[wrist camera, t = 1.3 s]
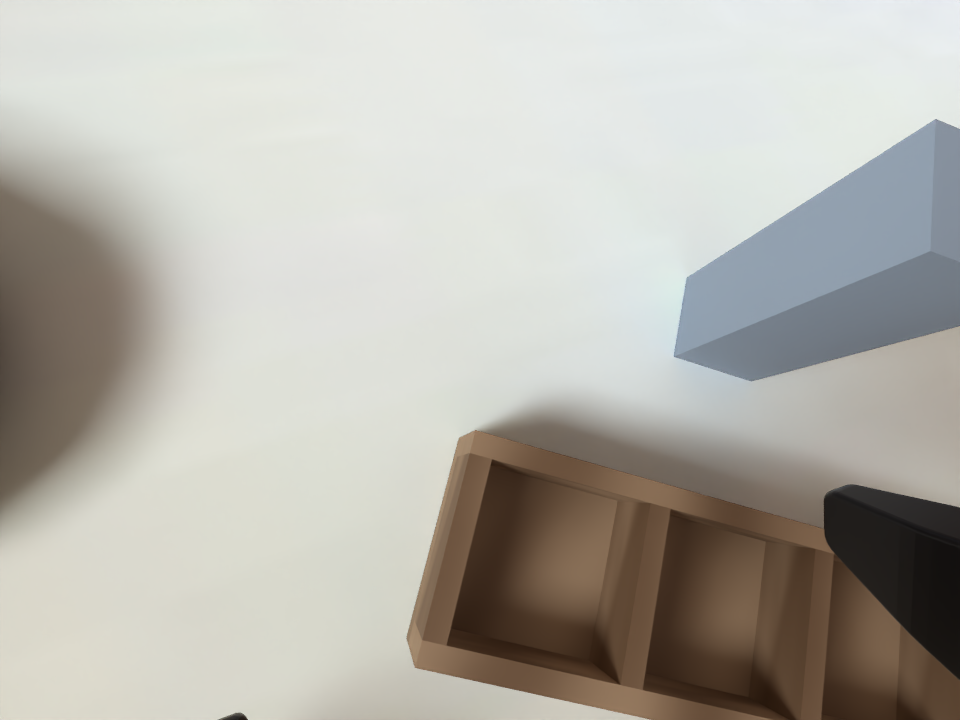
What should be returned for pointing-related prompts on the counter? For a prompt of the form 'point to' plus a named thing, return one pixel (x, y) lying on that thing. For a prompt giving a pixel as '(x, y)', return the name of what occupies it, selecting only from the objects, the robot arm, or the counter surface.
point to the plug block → (837, 269)
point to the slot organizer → (654, 600)
